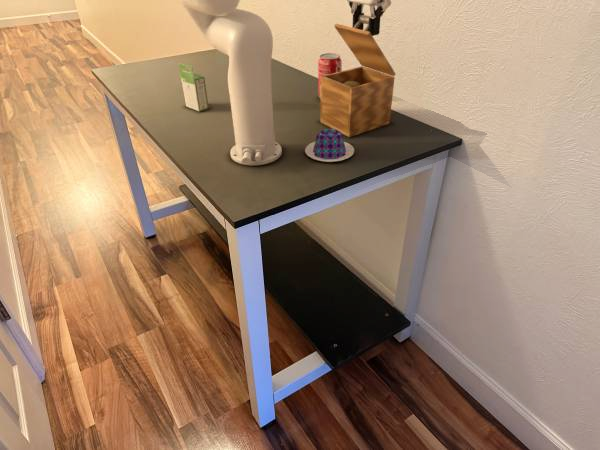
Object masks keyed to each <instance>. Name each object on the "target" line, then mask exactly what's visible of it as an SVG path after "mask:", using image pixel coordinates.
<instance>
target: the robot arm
mask: <svg viewBox="0 0 600 450" xmlns="http://www.w3.org/2000/svg"><path fill="white" fill-rule="evenodd" d="M178 1H179V3H180V4H181V6H182V7H183V9H184V10H185V12H186V13H187V14H188V16H189V17H190V18H191V20H192V22H193V24H195V26H196V27H197V28H198V30H199V32H200V33H201V34H202V35H203V37H204V39H206V41H207V42H208V43H209V45H210V46H211V47H212V48H213V49H214V50H217V51H218V52H220V53H222V54H223V55H226V56H228V68H227V69H228V70H227V87H228V93H229V101H230V109H231V117H232V126H233V135H234V141H235V145H233V146H232V147H231V149H230V151H229V153H230V158H231V159H232V161H234V162H235V163H238V164H239V165H244V166H251V167H253V166H263V165H268V164H271V163H273V162H275V161H277V160H278V159H279V158H280V157H281V156H282V154H283V150H282V146H281V144H280V143H279V142H277V141H276V136H275V135H276V134H275V122H274V104H273V90H272V57H273V49H274V38H273V33H272V30H271V27H270V26H269V24H268V23H267V22H266V20H264V18H262V17H261V16H260V15H258V14H256V13H254V12H251V11H247V10H244V9H239V8H237V7H238V5H239V3H240V0H178ZM346 1H347V3H348V5H349V7H350V13H351V15H352V26H351V27H352V28H353V27H354V26H355V24H356V23H357V22H358V17H359V15H365V12H363V10H364V6H365V5H366V6H369V11H370V16H371V18H369V27H368V32H370V33H371V35H372V36H373V37H374V36H379V35H380V32H381V31H380V29H381V18H382V17H383V16H384V13H385V12H386V10H387V9H388V8H389V7H390V6H391V5H392V1H391V0H346ZM364 27H365V24H364V23H361V24H360V25H359V27H358V28H357V29H360V30H364Z"/></svg>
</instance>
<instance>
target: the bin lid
mask: <svg viewBox="0 0 600 450" xmlns="http://www.w3.org/2000/svg"><path fill="white" fill-rule="evenodd" d="M369 18H371V15H367V14H366V15H365V14H364V15H359V17H358V22H357V23H356V24H355V26H354V27H353V28H352V26H347V25H344V24H339V23H335V24H334V25H333V27H334V28H335V30H336V31H337V33H338V34H339V36H340V37H341V38H342V40H343V41H344V42H345V44H346V45H347V47H348V48H349V49H350V51H351V52H352V55H354V57H355V58H356V60H357V61H358V63H359V64H360V65H361V66H363V67H366V68H369V69H372V70H375V71H378V72H381V73H384V74H387V75H390V76H393V77H395V76H396V72H395V71H394V70H395V69H394V68H393V67H392V65H391V63H390V62H389V60H388V59H387V57H386V56H385V54H384V52H383V51H382V49H381V47H380V46H379V44H378V43H377V41H376V40H375V38H374V36H372V35H371V33H370V32H368V27H369ZM361 23H364V25H366V27H365V28H363V30H360V29H357V28H358V27H359V25H360V24H361Z"/></svg>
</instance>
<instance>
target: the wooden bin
mask: <svg viewBox="0 0 600 450" xmlns="http://www.w3.org/2000/svg"><path fill="white" fill-rule="evenodd" d="M348 81H355V82H358V83H360V85H359V86H355V87H350V86H348V85H345V84H343V83H345V82H348ZM394 87H395V76H391V75H388V74H385V73H382V72H379V71H376V70H373V69H370V68H367V67H364V66H362V65H361V66H358V67H354V68H349V69H345V70H341V72H337V73H333V74H328V75H324V76H321V99H320V118H319V119H320V123H321V124H322V125H325V126H327V127H329V128H330V129H337V130H338V131H340V132H341V133H342V135H344V136H346V137H347V138H352V137H354V136H357V135H360V134H364V133H366V132H369V131H372V130H376V129H378V128H381V127H383V126H387V125H389V124H390V123H391V122H390V121H391V114H392V104H393V97H394Z"/></svg>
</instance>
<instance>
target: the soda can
mask: <svg viewBox="0 0 600 450" xmlns="http://www.w3.org/2000/svg"><path fill="white" fill-rule="evenodd" d="M342 62H343V61H342V58H341V54H339V53H335V52H328V53H327V52H326V53H322V54H320V55H319V59H318V61H317V63H318V64H317V65H318V66H317V69H318V72H317V73H318V75H317V76H318V77H317V78H318V82H317V84H318V87H317V88H318V97H319V99H320V100H321V76H324V75H328V74H333V73H337V72H341V71H343V70H342V67H343V65H342V64H343V63H342Z"/></svg>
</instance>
